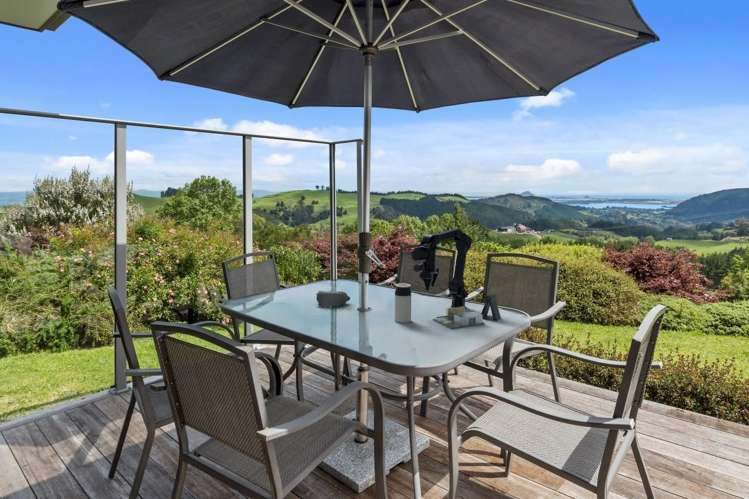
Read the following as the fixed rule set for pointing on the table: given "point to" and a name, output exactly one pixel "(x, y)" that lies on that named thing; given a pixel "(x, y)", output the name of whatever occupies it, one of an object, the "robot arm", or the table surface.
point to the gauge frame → (461, 320)
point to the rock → (332, 298)
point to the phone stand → (494, 308)
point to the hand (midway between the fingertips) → (430, 288)
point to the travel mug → (403, 303)
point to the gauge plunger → (453, 312)
